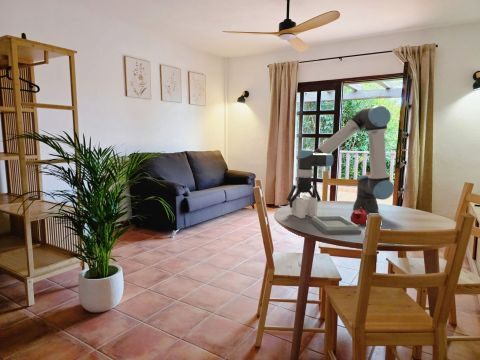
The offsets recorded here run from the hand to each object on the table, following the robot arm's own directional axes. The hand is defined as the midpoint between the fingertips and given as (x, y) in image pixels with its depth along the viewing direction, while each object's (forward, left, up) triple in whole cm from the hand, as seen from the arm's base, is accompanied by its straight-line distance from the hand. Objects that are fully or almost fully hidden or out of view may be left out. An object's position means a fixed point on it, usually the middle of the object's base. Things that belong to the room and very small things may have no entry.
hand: (303, 212), depth 180 cm
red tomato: (-26, +17, -2) cm, 31 cm away
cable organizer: (0, 0, -2) cm, 2 cm away
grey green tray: (-9, +23, -2) cm, 25 cm away
